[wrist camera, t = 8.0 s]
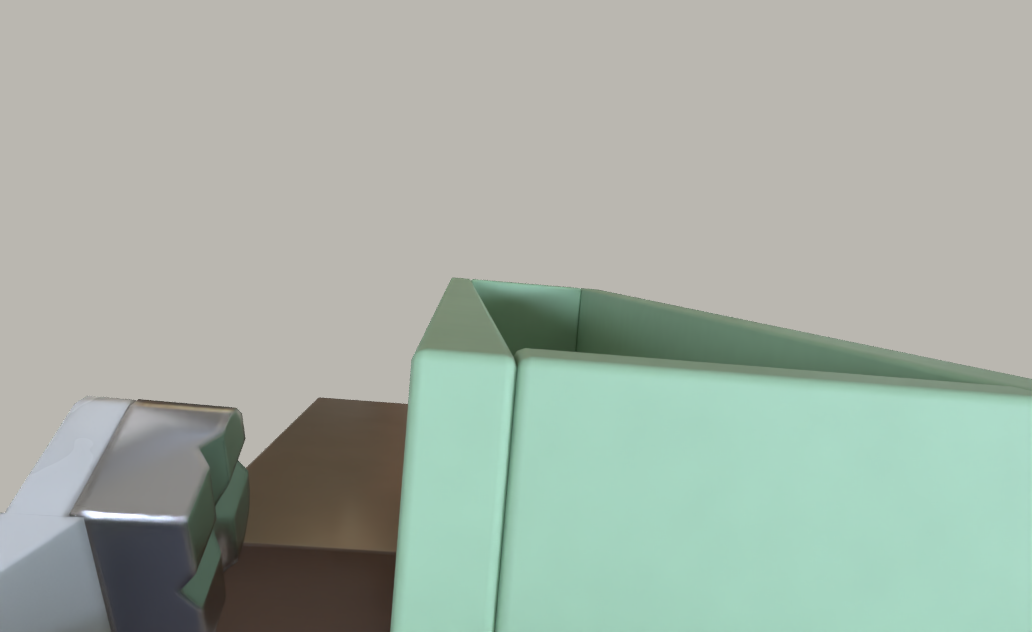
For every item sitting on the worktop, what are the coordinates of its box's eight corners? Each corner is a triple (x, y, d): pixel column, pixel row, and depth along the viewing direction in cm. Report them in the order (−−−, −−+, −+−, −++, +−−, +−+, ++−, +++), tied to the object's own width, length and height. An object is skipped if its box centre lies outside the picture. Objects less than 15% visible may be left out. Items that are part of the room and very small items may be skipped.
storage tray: (587, 419, 27) (598, 289, 27) (1095, 1051, 6) (1176, 407, 5) (440, 409, 27) (451, 277, 27) (359, 1031, 5) (411, 348, 5)
